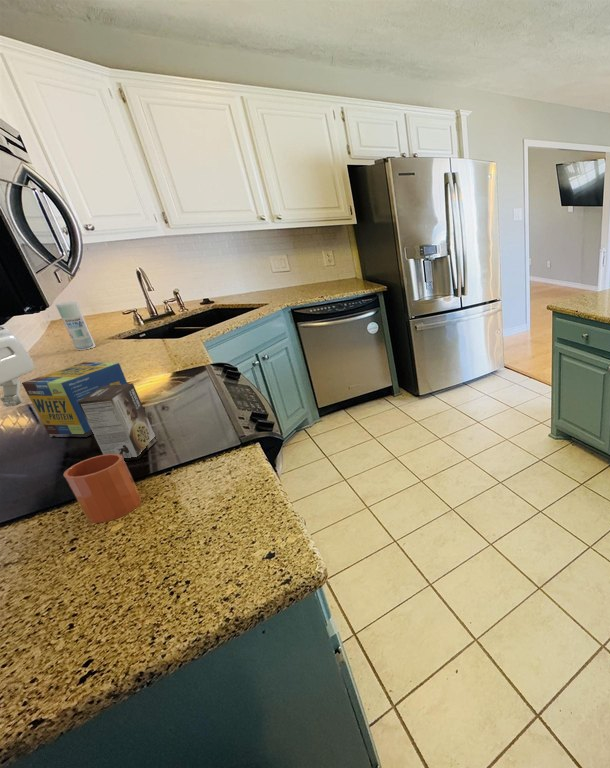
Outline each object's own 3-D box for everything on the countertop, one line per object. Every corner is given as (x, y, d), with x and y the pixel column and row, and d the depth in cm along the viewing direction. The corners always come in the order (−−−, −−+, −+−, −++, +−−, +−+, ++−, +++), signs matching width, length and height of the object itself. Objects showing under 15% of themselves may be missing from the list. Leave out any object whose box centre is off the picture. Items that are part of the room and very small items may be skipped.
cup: (76, 526, 74) (51, 480, 70) (105, 499, 81) (83, 456, 77) (126, 519, 76) (104, 474, 72) (150, 493, 83) (131, 451, 79)
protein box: (48, 438, 105) (19, 382, 99) (107, 411, 119) (84, 361, 113) (86, 438, 104) (59, 383, 98) (141, 411, 118) (120, 361, 112)
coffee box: (127, 445, 100) (100, 385, 94) (158, 441, 102) (134, 382, 96) (106, 465, 92) (75, 401, 86) (140, 460, 94) (112, 397, 88)
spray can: (75, 351, 174) (53, 305, 166) (77, 348, 179) (56, 303, 171) (95, 348, 178) (76, 303, 170) (97, 345, 183) (77, 301, 175)
